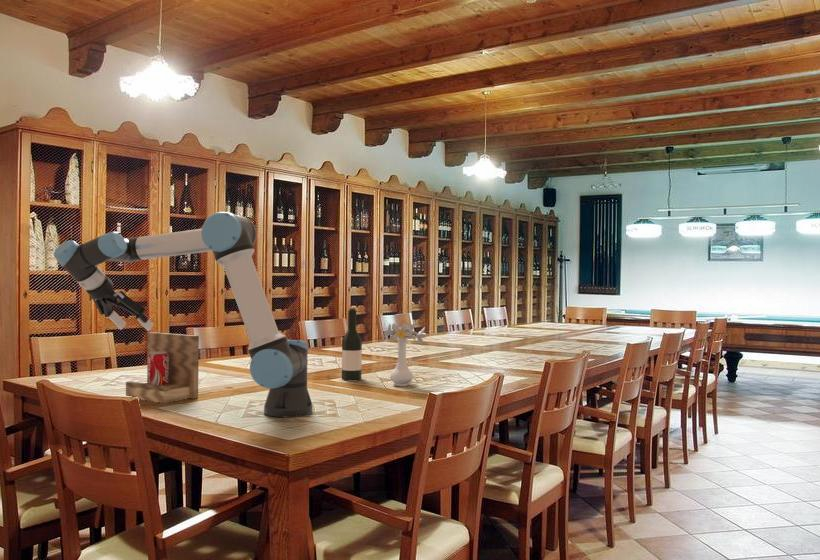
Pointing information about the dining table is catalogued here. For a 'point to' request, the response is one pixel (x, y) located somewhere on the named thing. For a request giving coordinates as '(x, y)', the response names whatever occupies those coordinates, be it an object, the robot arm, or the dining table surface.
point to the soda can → (158, 368)
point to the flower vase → (403, 351)
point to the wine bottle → (351, 350)
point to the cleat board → (171, 369)
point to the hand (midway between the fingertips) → (136, 327)
